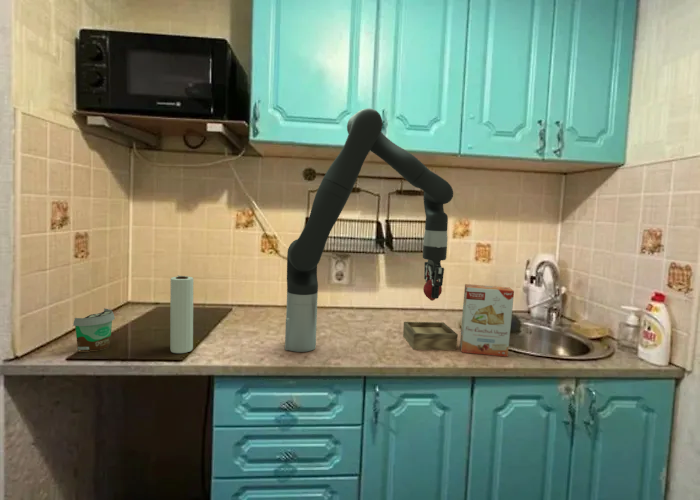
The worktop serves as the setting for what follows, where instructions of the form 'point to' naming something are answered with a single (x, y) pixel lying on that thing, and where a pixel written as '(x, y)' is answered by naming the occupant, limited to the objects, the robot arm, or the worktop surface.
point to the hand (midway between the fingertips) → (432, 295)
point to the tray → (430, 336)
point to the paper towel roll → (181, 314)
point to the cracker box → (486, 320)
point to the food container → (94, 330)
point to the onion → (430, 289)
